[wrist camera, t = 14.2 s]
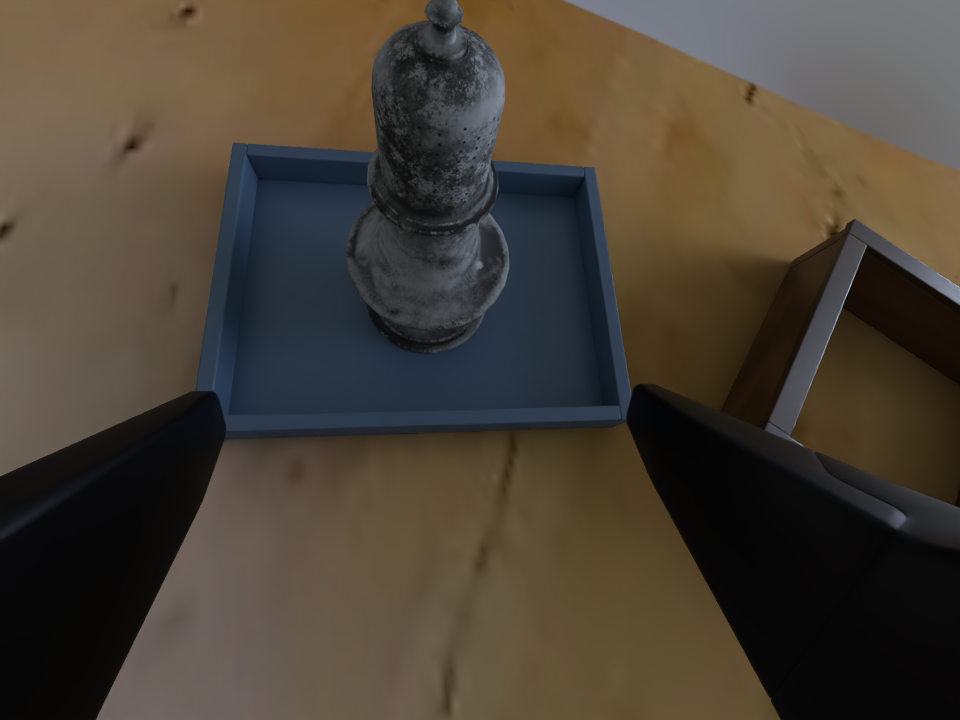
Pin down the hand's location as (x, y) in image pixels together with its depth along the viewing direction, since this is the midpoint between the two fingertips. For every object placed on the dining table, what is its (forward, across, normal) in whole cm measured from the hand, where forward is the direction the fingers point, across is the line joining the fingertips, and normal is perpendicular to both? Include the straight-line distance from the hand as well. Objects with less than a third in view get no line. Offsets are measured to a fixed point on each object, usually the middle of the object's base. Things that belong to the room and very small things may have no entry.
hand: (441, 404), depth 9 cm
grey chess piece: (+10, 0, +1) cm, 10 cm away
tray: (+11, 0, +1) cm, 11 cm away
